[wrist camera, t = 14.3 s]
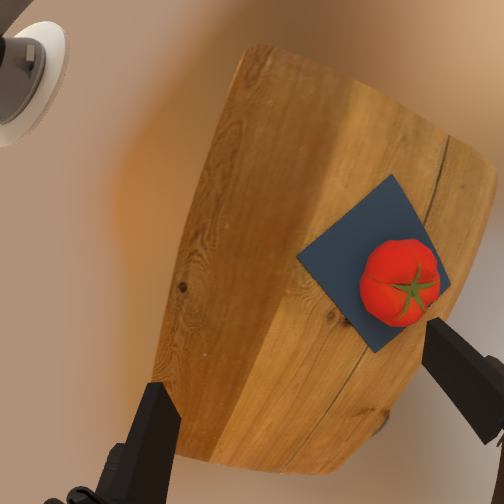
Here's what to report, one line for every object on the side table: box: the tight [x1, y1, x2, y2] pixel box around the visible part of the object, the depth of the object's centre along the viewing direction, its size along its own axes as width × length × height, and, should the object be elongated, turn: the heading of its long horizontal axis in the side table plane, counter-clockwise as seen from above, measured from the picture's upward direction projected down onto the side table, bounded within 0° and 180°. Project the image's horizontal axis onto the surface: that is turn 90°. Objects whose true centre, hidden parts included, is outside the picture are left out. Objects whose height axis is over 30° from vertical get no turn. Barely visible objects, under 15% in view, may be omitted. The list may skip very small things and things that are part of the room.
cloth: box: [296, 174, 451, 353], centre depth 35 cm, size 20×16×1 cm
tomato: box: [360, 239, 440, 327], centre depth 31 cm, size 11×11×8 cm
